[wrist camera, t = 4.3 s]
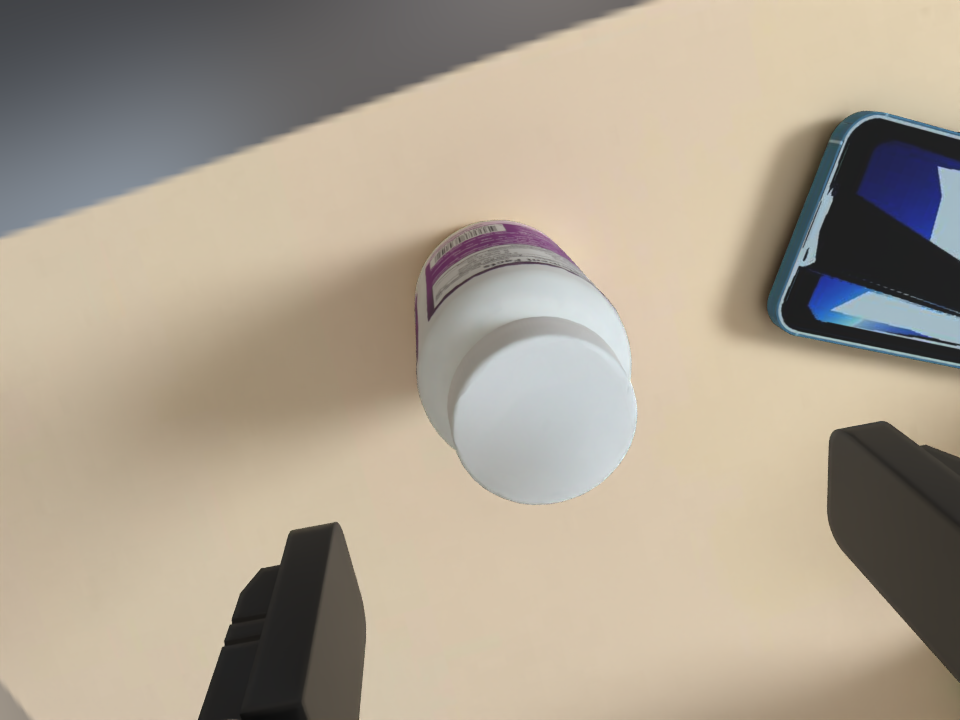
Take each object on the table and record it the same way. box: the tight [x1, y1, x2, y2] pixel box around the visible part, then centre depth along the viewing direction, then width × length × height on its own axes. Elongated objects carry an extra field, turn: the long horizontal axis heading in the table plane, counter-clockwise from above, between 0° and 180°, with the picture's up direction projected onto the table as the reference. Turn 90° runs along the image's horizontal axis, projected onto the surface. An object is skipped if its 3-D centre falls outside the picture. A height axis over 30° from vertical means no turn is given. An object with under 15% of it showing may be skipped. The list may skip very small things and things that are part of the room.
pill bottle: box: [415, 220, 637, 505], centre depth 19 cm, size 5×5×10 cm
